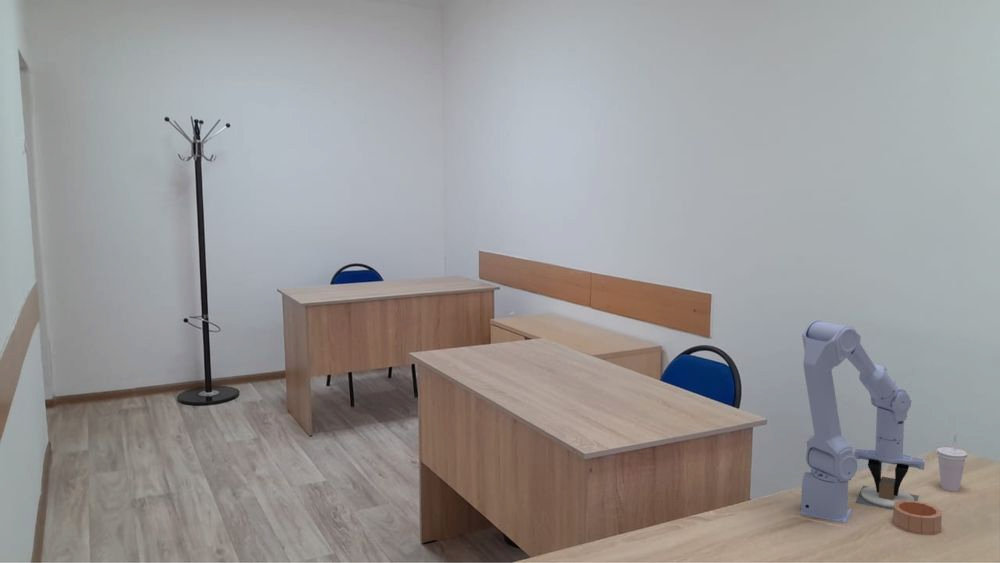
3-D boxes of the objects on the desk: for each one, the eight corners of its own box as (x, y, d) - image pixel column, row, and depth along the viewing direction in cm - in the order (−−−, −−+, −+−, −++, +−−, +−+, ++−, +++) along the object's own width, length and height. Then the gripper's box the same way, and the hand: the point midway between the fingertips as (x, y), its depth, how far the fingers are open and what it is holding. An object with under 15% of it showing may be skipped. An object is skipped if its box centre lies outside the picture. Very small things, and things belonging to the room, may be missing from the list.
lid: (857, 501, 170) (858, 484, 170) (864, 486, 179) (865, 469, 179) (911, 512, 164) (912, 493, 164) (916, 495, 173) (916, 478, 173)
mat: (855, 504, 170) (855, 502, 170) (862, 487, 180) (863, 485, 180) (913, 515, 164) (914, 513, 163) (918, 497, 173) (918, 495, 173)
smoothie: (964, 497, 173) (967, 439, 171) (933, 491, 177) (935, 435, 175) (966, 488, 178) (969, 432, 177) (936, 482, 182) (938, 428, 180)
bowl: (890, 529, 157) (891, 511, 156) (895, 514, 164) (896, 497, 164) (939, 539, 152) (940, 521, 151) (942, 523, 159) (942, 505, 159)
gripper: (926, 437, 169) (924, 493, 171) (858, 427, 178) (856, 481, 179) (924, 445, 164) (921, 503, 165) (853, 435, 172) (851, 490, 173)
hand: (887, 492), depth 172 cm, fingers closed on lid, 3 cm apart
